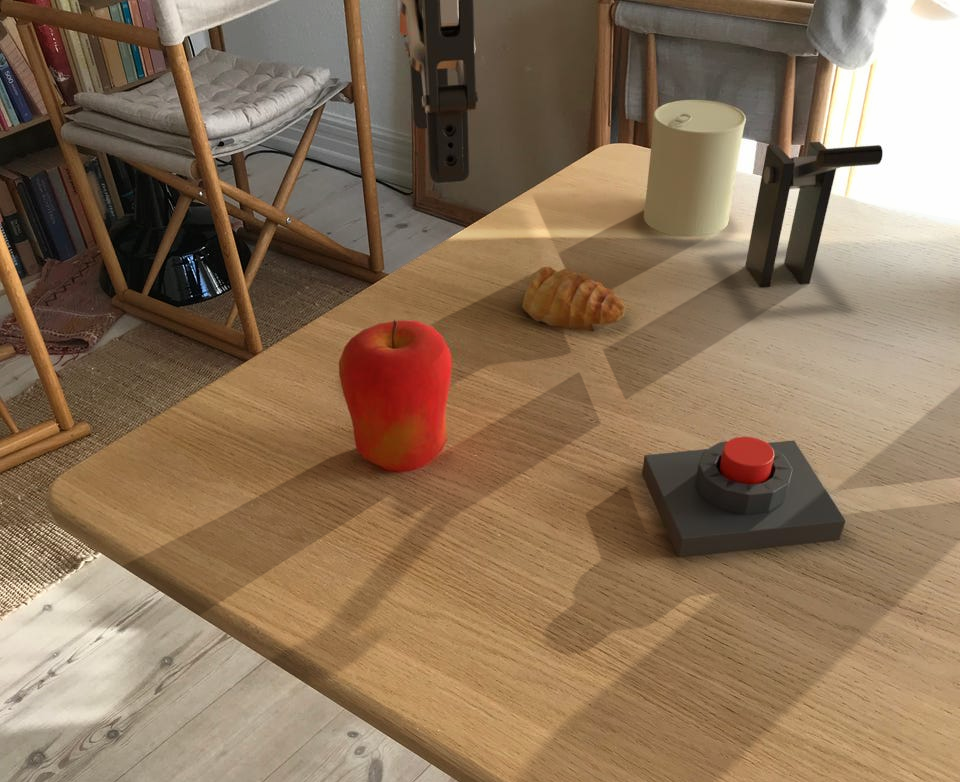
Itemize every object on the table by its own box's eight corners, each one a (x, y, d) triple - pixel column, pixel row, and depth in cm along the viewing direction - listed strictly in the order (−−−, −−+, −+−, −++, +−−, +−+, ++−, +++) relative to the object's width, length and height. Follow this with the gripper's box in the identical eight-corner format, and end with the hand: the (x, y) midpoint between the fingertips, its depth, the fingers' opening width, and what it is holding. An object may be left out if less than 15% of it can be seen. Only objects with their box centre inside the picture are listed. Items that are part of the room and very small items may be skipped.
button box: (789, 463, 82) (799, 419, 79) (838, 544, 75) (852, 500, 72) (641, 478, 81) (646, 435, 78) (677, 562, 74) (685, 518, 71)
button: (760, 454, 77) (764, 434, 75) (777, 483, 74) (781, 463, 73) (712, 458, 76) (716, 438, 75) (728, 488, 74) (732, 468, 73)
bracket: (842, 312, 98) (877, 175, 89) (750, 321, 98) (777, 182, 88) (796, 256, 107) (824, 124, 98) (711, 262, 106) (732, 131, 97)
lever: (882, 169, 85) (883, 137, 84) (823, 173, 84) (824, 141, 84) (817, 187, 96) (817, 158, 96) (765, 191, 96) (765, 162, 95)
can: (623, 228, 112) (634, 110, 103) (678, 203, 116) (693, 87, 107) (690, 257, 107) (707, 135, 98) (745, 229, 111) (766, 110, 103)
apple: (395, 414, 87) (385, 281, 79) (476, 447, 84) (475, 312, 75) (327, 464, 82) (308, 327, 74) (410, 501, 79) (400, 363, 70)
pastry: (635, 313, 99) (639, 275, 96) (605, 346, 95) (608, 307, 92) (547, 291, 102) (549, 253, 99) (515, 321, 98) (515, 283, 95)
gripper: (528, -172, 46) (523, 195, 58) (479, -216, 56) (483, 105, 68) (359, -164, 45) (388, 206, 57) (339, -210, 55) (368, 113, 67)
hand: (439, 151), depth 62 cm, fingers open, 8 cm apart
